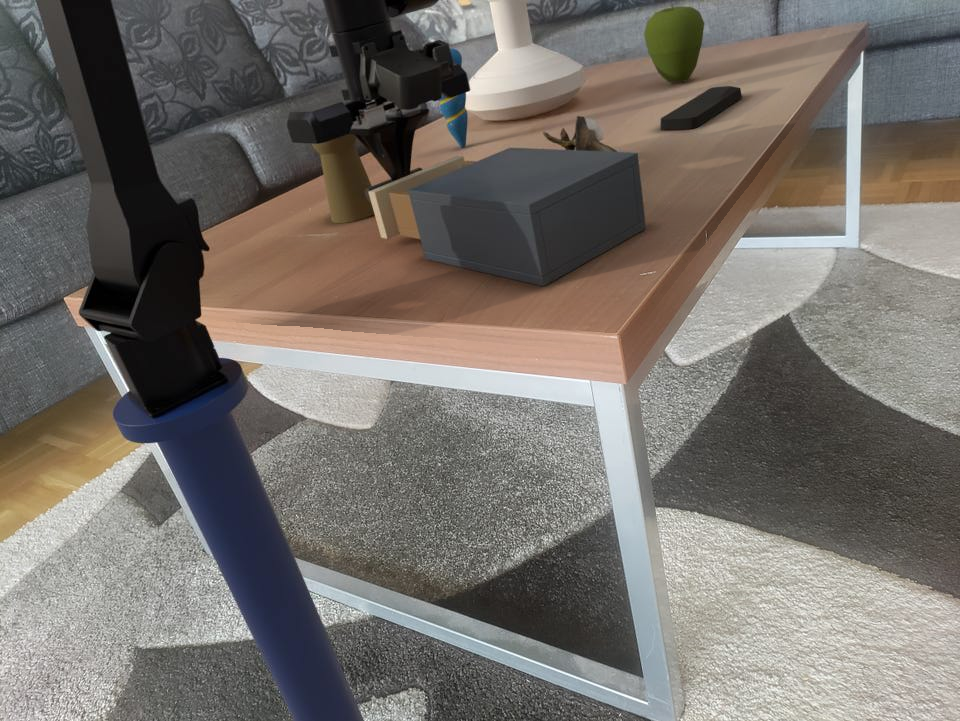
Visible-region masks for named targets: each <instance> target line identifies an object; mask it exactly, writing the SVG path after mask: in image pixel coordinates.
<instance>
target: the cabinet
mask: <svg viewBox="0 0 960 721" xmlns="http://www.w3.org/2000/svg"><path fill="white" fill-rule="evenodd" d="M642 188H643V187H642V180H641V170H640V163H639V154H638V152H627V151H617V152H606V151H581V150H566V149H558V148H557V149H555V148H553V149H552V148H529V147H508V148H505V149H504V150H500V151H498V152H496V153H494V154H491V155H489V156H486V157H484V158H481V159H479V160H477V162H474V163H472V164H470V165H467V166H465V167H462V168H460V169H458V170H455V171H453V172H450V173H448V174H446V175H443V176H441V177H438V178H436V179H434V180H431V181H429V182H426V183H424V184H422V185H419V186H417V187H414V188H412V189H410V190H408V193H409V197H410V201H411V205H412V209H413V212H414V216H415V220H416V224H417V228H418V232H419V236H420V239H419V240H420V244H421V247H422V251H423V255H424V257H425V260H427V261H433V262H437V263H440V264H446V265H449V266H454V267H459V268H463V269H467V270H470V271H471V270H472V271H475V272H480V273H483V274H484V273H485V274H489V275H494V276H498V277H501V278H506V279H510V280H514V281H519V282H524V283H527V284H532V285H537V286H540V287H545V286H547V285H549V284H551V283H553V282H555V281H557V280H558V279H560V278H561V277H564V276H565V275H567V274H569V273H571V272H572V271H574V270H575V269H577V268H579V267H581V266H583V265H585V264H586V263H588V262H590V261H591V260H594V259H595V258H596V257H598V256H600V255H602V254H604V253H605V252H607V251H609V250H611V249H613V248H614V247H616V246H618V245H620V244H621V243H623V242H625V241H627V240H629V239H630V238H632V237H634V236H636V235H638V234H639V233H641V232H643V231H644V230H646V229H647V228H646V226H647V225H646V216H645V206H644V198H643V189H642Z"/></svg>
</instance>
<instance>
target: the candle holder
mask: <svg viewBox="0 0 960 721" xmlns="http://www.w3.org/2000/svg"><path fill="white" fill-rule="evenodd" d="M486 1H487V2H488V3H489V7H490V13H491V19H492V25H493V30H494V35H495V41H496V46H497V51H496V52H495V53H494V54H493V55H492V56H491V57H490V58H489V59H488V60H486V62H485V63H484V64H483V65H482V66H481V67H480V68H479V69H477V71H476V73H475V74H473V75H472V77H471V78H470V79H469V85H470V91H469V92H466V104H465V108H466V110H467V112H469V113H471V114H473V115H474V116H476V117H478V118H480V119H481V120H484V121H498V122H499V121H500V122H508V121H518V120H523V119H528V118H533V117H537V116H541V115H544V114H547V113H549V112H552V111H554V110H556V109H558V108H560V107H562V106H564V105H566V104H568V103H570V102H571V101H572V100H573V98H574V97H575V96H576V94H578V92H579V91H580V90H581V88H582V87H583V86H584V84H585V82H586V77H585V71H584V70H585V69H584V65H583V64H581V63H580V62H577V61H576V60H574V59H572V58H570V57H568V56H567V55H565V54H561V53H560V52H557V51H554V50H552V49H549V48H546V47H544V46H541V45H539V44H536V43H533V35H532V31H531V24H530V17H529V12H528V5H527V0H486Z"/></svg>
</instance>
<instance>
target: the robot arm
mask: <svg viewBox="0 0 960 721" xmlns="http://www.w3.org/2000/svg"><path fill="white" fill-rule="evenodd" d="M439 1H440V0H322V3H323V6H324V9H325V13H326V16H327V17H326V18H327V20H328V23H329V24H328V25H329V27H330V31H331V35H332V38H333V41H334V44H332V45H329V46H328V49H329V53H330V56H331V58H337V57H338V59H339V63H340V67H341V70H342V73H343V77H344V81H345V85H346V88H342V89H340V90H341V95H342V97H343V101H348V102H346V103H344V102H343V101H331V102H330V101H326V102H325V101H324V102H323V101H322V102H317V103H314V104H311V105H308V106H304V107H301V108H299V109H298V108H297V109H294V110H292V111H289V113H288V117H287V122H286V127H287V130H288V134H289V136H290V140H291V143H293V144H294V143H295V144H311V145H312V144H319V143H324V142H327V141H330V140H333V139H336V138H339V137H342V136H344V135H347V134H350V135H355V137H356V138H357V139H356V140H358V141H359V143H361V144H362V145H363V146H364V147H365V149H367V150H368V152H370V154H371V155H372V156H373V157H374V158H375V159H376V161H377V163H378V164H379V165H380V166H381V167H382V168H383V170H384V172H385V173H386V174H387V175H388V176H389V179H392V180H393V181H396V180H398V179H401V178H403V177H406V176H408V175H410V171H411V167H412V154H413V145H414V138H415V133H416V129H417V127H418V126H419V124H420V123H421V121H422V119H423V118H424V117H427V116H428V115H429V113H430V109H429V108H421V105H423V104H425V103H429V102H437V101H438V100H440V99H441V98H442V94H443V95H444V96H446V97H447V98H452V97H454V96H457V95H460V94H463V93H466V92H469V91H470V85H469V81H470V79H469V75H468V73H467V72H466V70H464V68H463V67H462V66H460V65H459V64H454V62H453V58H452V54H451V51H450V44H449V43H448V42H446V41H443V40H441V39H436V41H435V40H434V41H431V42H428V43H425V44H424V46H423V48H420V49H416V50H411V49H410V48H409V46H408V45H407V42H406V37H405V35H404V34H403V32H402V30H401V29H400V30H394V27H393V24H392V20H391V18H396V17H400V16H404V15H407V14H411V13H413V12H418V11H421V10H425V9H427V8H431V7H433V6H435V5H437V3H438V2H439ZM35 3H36V6H37V8H38V9H37V10H38V13H39V16H40V19H41V23H42V27H43V30H44V33H45V36H46V39H47V43H48V47H49V50H50V53H51V57H52V60H53V63H54V66H55V70H56V73H57V76H58V79H59V83H60V87H61V90H62V92H63V96H64V99H65V104H66V106H67V109H68V113H69V117H70V120H71V124H72V126H73V130H74V133H75V137H76V140H77V143H78V148H79V150H80V153H81V156H82V160H83V163H84V167H85V169H86V170H85V171H86V173H87V176H88V180H89V184H90V198H89V206H88V213H87V220H86V233H87V240H88V241H87V242H88V249H89V256H90V265H91V269H92V275H91V278H90V281H89V283H88V285H87V288H86V291H85V294H84V296H83V299H82V302H81V305H80V307H79V309H78V315H79V316H80V317H81V319H82V320H84V321H85V322H86V323H87V324H88V325H89V326H90V327H91V328H92V329H94V330H95V331H97V332H106V333H108V334H106V335H104V336H103V338H104V341H105V343H106V345H107V347H108V349H109V351H110V353H111V355H112V357H113V359H114V361H115V363H116V365H117V367H118V369H119V371H120V373H121V375H122V377H123V379H124V381H125V383H126V385H127V388H128V389H129V390H128V391H129V392H128V391H127V392H128V393H127V392H126V393H127V395H128V397H129V399H130V400H131V401H133V402H134V403H135V404H136V405H137V406H138V407H139V408H140V409H141V410H142V411H144V412H145V413H146V414H147V415H148V416H149V417H150V418H152V419H154V418H158V417H160V416H162V415H164V414H166V413H168V412H170V411H172V410H174V409H176V408H178V407H180V406H182V405H184V404H186V403H188V402H190V401H192V400H194V399H196V398H198V397H200V396H202V395H204V394H206V393H208V392H210V391H211V390H213V389H215V388H217V387H219V386H221V385H223V384H225V383H227V382H228V379H227V377H226V375H224V374H223V373H221V372H219V371H218V370H221V369H222V363H221V361H220V359H219V358H220V356H219V354H218V352H217V349H216V348H215V344H214V342H213V339H212V337H211V335H210V333H209V330H208V327H207V326H206V324H204V323H202V322H200V321H198V319H199V318H201V317H202V301H201V288H200V287H201V286H200V281H201V279H202V278H203V277H204V275H205V268H206V265H205V258H204V253H203V252H209V251H210V246H209V245H208V243H207V242H206V240H205V239H204V236H203V233H202V231H201V226H200V216H199V209H198V206H197V203H196V201H195V199H193V198H189V197H188V198H185V197H184V198H183V197H182V198H181V197H176V198H175V197H174V196H173V195H172V193H170V190H168V188H167V187H166V186H165V184H164V183H163V182H162V179H161V178H160V174H159V173H158V169H157V166H156V161H155V158H154V154H153V151H152V147H151V143H150V139H149V135H148V131H147V128H146V123H145V121H144V120H145V119H144V117H143V116H144V115H143V113H142V108H141V105H140V102H139V97H138V93H137V91H136V86H135V83H134V79H133V74H132V72H131V71H132V70H131V67H130V64H129V60H128V57H127V53H126V49H125V46H124V41H123V37H122V34H121V30H120V26H119V22H118V19H117V15H116V11H115V6H114V3H113V0H35ZM438 102H439V101H438Z"/></svg>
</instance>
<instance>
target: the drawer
mask: <svg viewBox="0 0 960 721" xmlns="http://www.w3.org/2000/svg"><path fill="white" fill-rule="evenodd" d="M477 161H478V160H477ZM477 161H476V160H466V161H465V157H464V155H455V156H453V157H449V158H448V159H446V160H443V161H441V162H439V163H435V164H433V165H430V166H427V167H426V168H422V167H416V168H414V169H412V170H411V169H410V175H408V176H406V177H403V178H401V179H398V180H396V181H393V180H392V179H391V178H388V179H386V180H383V181H382V182H379V183H377V184H374V185H372V186H371V187H369V188H366V189H365V197H366V199H367V200H368V201H369V202H371V203H372V207H373V210H374V214H373V215H374V218H375V221H376V224H377V227H378V231H379V235H380V238H382V239H385V240H390V239H391V238H393V237H395V236H398V235H399V236H402V237H407V238H412V239H417V240H420V236H419V232H418V228H417V224H416V220H415V216H414V212H413V209H412V205H411V201H410V197H409V193H408V190H410V189H412V188H414V187H417V186H419V185H422V184H424V183H426V182H429V181H431V180H434V179H436V178H438V177H441V176H443V175H446V174H448V173H450V172H453V171H455V170H458V169H460V168H462V167H465V166H467V165H470V164H472V163H474V162H477Z"/></svg>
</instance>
